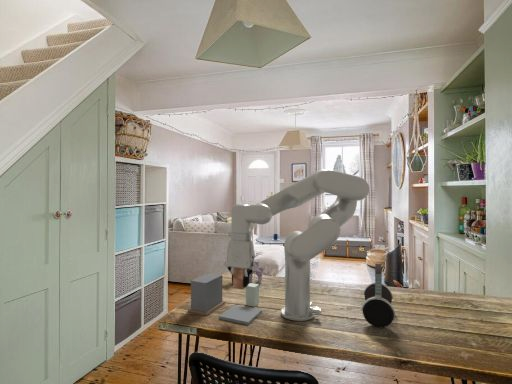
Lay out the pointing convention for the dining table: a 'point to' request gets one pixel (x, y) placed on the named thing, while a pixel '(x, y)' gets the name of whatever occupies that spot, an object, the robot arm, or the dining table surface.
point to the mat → (240, 314)
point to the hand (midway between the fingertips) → (240, 284)
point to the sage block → (252, 294)
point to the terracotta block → (238, 278)
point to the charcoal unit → (206, 294)
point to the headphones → (378, 302)
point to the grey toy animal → (257, 272)
